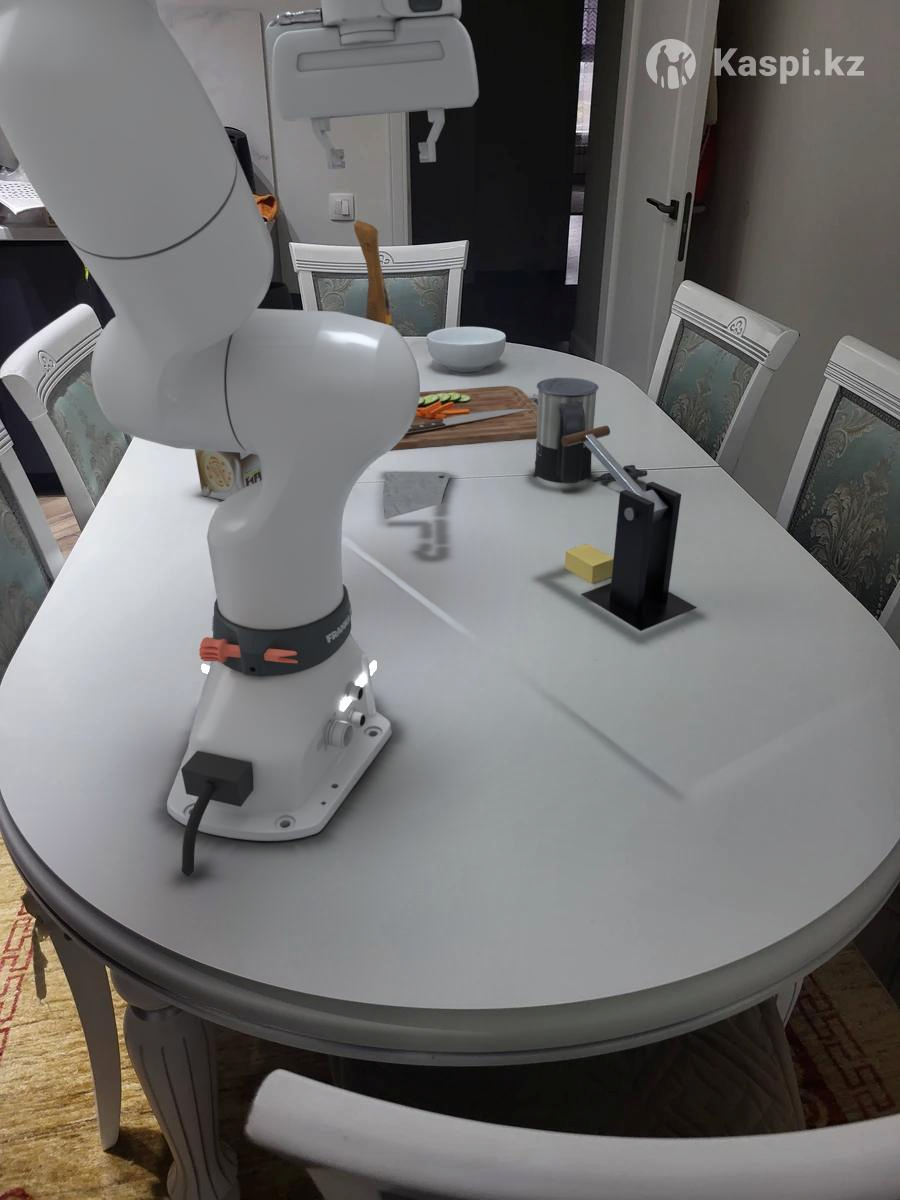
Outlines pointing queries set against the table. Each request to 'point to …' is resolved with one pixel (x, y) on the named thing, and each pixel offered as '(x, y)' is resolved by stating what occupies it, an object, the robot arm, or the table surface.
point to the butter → (589, 563)
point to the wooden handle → (373, 274)
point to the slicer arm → (614, 465)
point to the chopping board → (471, 417)
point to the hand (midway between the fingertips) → (382, 165)
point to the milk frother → (567, 431)
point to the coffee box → (226, 472)
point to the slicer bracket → (643, 562)
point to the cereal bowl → (466, 347)
